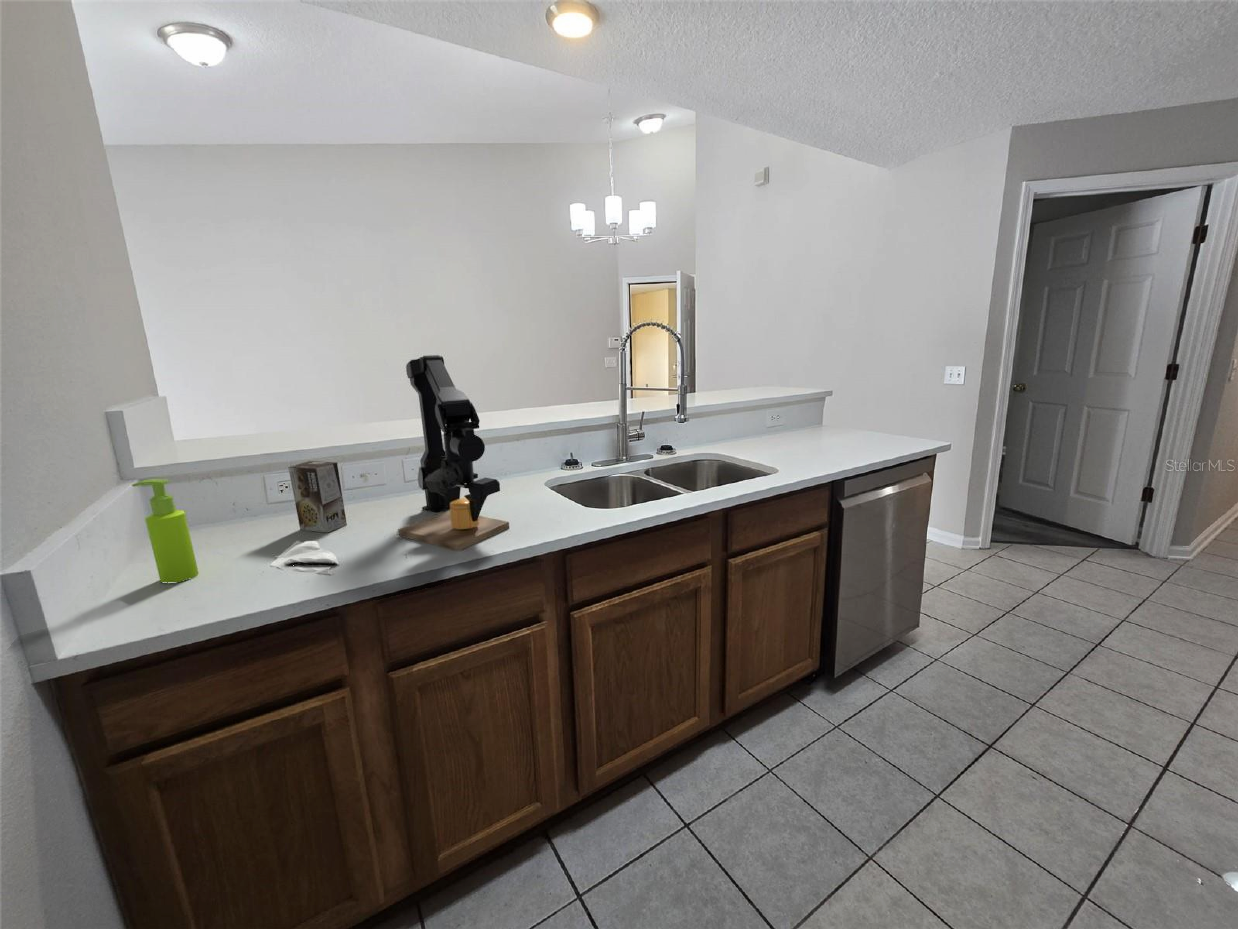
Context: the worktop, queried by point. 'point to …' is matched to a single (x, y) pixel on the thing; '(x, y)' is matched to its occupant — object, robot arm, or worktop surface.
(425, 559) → the worktop surface
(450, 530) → the wooden board
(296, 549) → the cloth
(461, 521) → the cap
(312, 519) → the coffee box
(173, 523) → the soap dispenser
